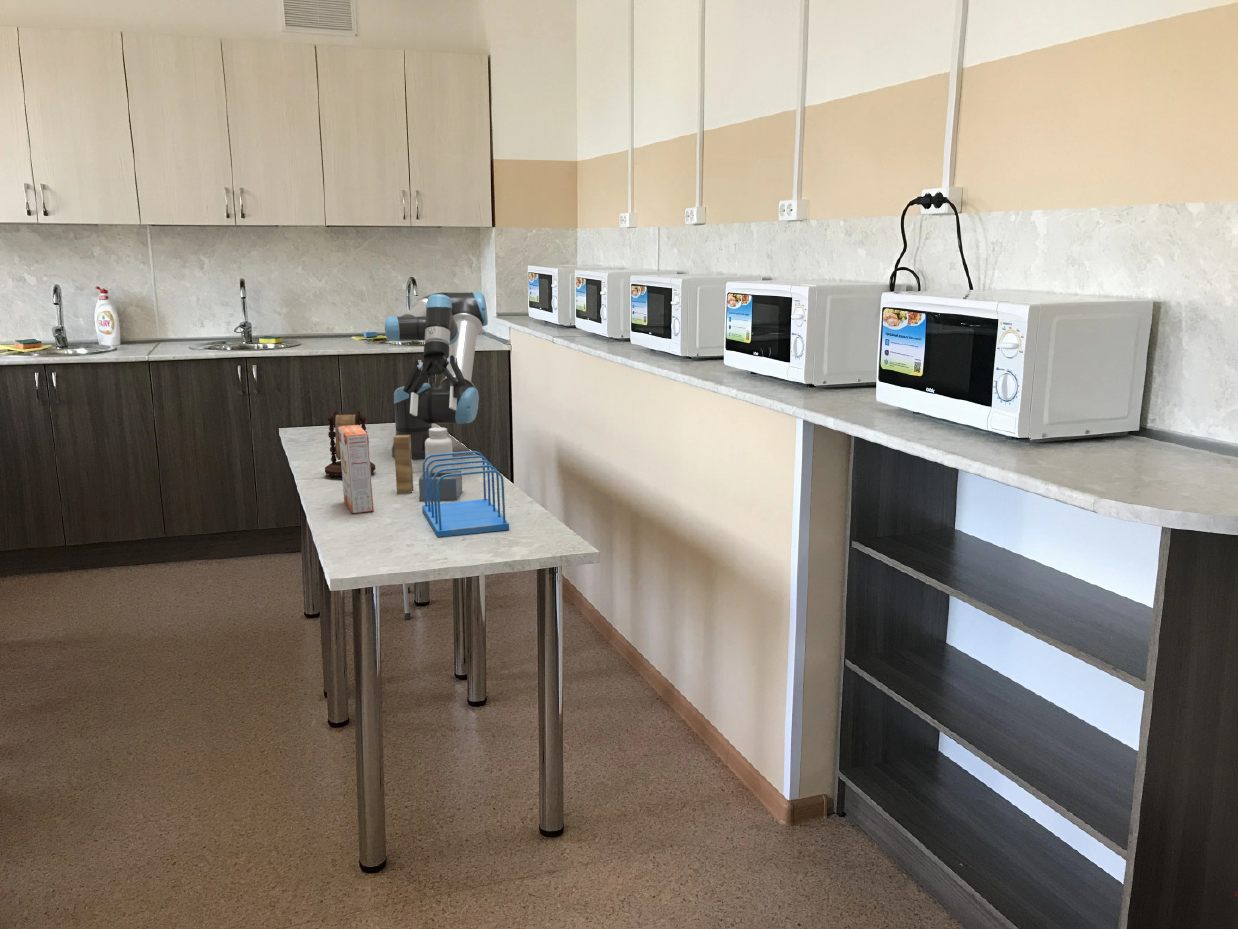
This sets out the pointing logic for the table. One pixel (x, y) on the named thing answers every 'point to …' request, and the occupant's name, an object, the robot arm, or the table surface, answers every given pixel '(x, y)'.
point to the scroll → (335, 447)
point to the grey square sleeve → (443, 486)
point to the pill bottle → (438, 447)
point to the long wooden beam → (403, 463)
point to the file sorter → (463, 513)
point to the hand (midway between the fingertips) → (432, 411)
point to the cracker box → (356, 468)
